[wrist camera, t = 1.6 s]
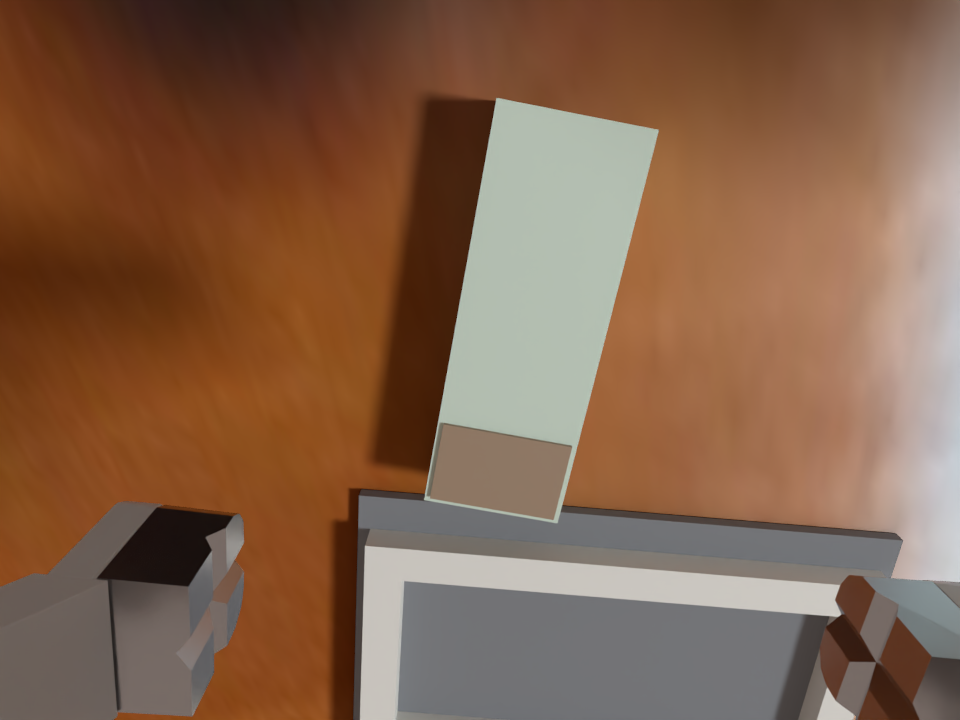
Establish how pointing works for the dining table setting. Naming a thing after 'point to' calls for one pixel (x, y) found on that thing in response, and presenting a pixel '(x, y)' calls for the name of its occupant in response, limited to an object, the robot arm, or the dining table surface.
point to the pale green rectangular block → (535, 306)
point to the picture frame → (596, 614)
